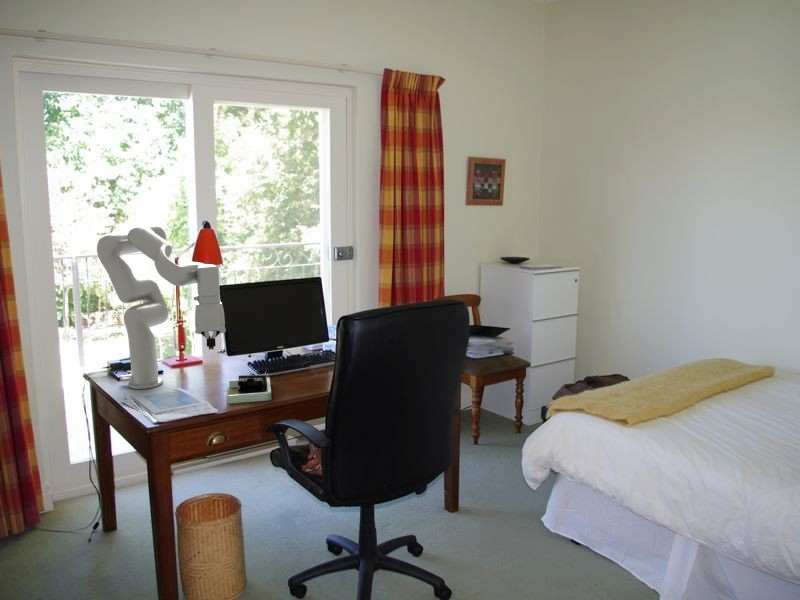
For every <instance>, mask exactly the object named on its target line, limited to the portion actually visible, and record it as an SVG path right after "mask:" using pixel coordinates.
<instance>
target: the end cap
mask: <svg viewBox="0 0 800 600" xmlns="http://www.w3.org/2000/svg"><path fill="white" fill-rule="evenodd" d="M267 377H268V376H267V375H266V374H258V375H257V374H251V375H250V374H249V375H248V374H247V375H244V374H243V375H241V374H240V375H238V377H237V378H238V379H239V381H238V386H239V387H237V388H238V389H237V394H247V393H260V392H267Z"/></svg>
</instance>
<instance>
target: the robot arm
mask: <svg viewBox="0 0 800 600" xmlns="http://www.w3.org/2000/svg"><path fill="white" fill-rule="evenodd" d="M138 252H140V253H142V254H143V255H145V256H146V257H148V258H149V259H150V260H152V261H153V262H154V266H155V270H156V272H157V273H158V275H159V276H160V277H162V278H163V279H164V280H166V281H167V282H168V283H170V284H171V285H174V286H176V287H184V286H187V285H188V286H189V285H193V284H197V295H196V296H193V301H196V304H195V310H194V327H195V331H194V333H195V334H197V335H201V336H202V337H204V338H205V340H206V347H208V350H214V349H215V348H214V347H216V344H217V343H216V338H217V337H218V336H219V335H220V334H223V333H226V331H227V329H226V327H225V325H226V321H225V311H224V306H223V302H221V295H220V292H221V291H220V271H219V267H218V266H217V265H215V264H205V263H203V262H198V261H193V262H187V263H183V264H177V263H175V262H174V261H172V260H171V259H169V258H170V256H171V254H172V252H173V246H172V245H171V243H169V242H168V241H167V233H166V231H165V229H164V228H163V227H162V226H161V225H159V224H157V223H149V224H148V223H145V224H139V225H135V226H133V227H131V228H130V229H129V230H126V231H125V230H122V231H117V232H116V231H115V232H110V233H106V234H104V235H102V236H101V237H100V238H99V240H98V241H97V244H96V254H97V257H98V259H99V261H100V263H101V265H102V266H103V267H104V268H103V269H104V270H105V271H106V273H107V276H109V279H110V282H111V284H112V286H113V288H114V290H115V293H116V295H117V297H118V299H119V300H120V301H121V303H123V304H134V303H138V302H141V301H142V303H139V304H135V305H132V306H130V307H128V308H127V309H126V310H125V311H124V314H123V321H124V326H125V329H126V332H127V336H128V347H129V359H130V370H131V373H128V374H126V375H125V374H120V376H119V377H120V378H119V380H120V381H122V382H128V383H127V384H128V387H129V388H130V389H133V390H134V389H136V390H145V389H146V390H147V389H153V388H156V387H159V386H160V385H162V384H163V381H164V380H163V378H162V377H159V371H158V358H157V357H158V356H157V355H158V354H157V346H156V345H157V344H156V338H155V335H154V333H153V332H152V331H151V328H152V327H156V326H158V325H161V324H164V323H165V322H166V321H167V320H168V319H169V309H168V305H167V304H166V301H165V299H164V297H163V294H162V292H161V290H160V288H159V285H158V284H157V282H156V281H155V280H154V278H153V277H151V276H149V275H138V276H136V275H135V274H134V271H133V269H132V266H131V265H130V264H129V263H128V261H127V260H126V259H124V258H123V257H122V256H121V255H125V254H133V253H138ZM210 332H212V335H210Z"/></svg>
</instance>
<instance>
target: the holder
mask: <svg viewBox="0 0 800 600" xmlns="http://www.w3.org/2000/svg"><path fill="white" fill-rule="evenodd" d="M266 377H267V389H266V391H265V392H260V393H247V394H239V393H236V394H228V395H227V402H228V404H240V403H251V402H252V403H253V402H263V401H264V402H265V401H272V388H271V378H270V376H266ZM238 381H239V378H238V379H229V380H228V382H229V383H228V384H229V389H234V388H239V386H238Z"/></svg>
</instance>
